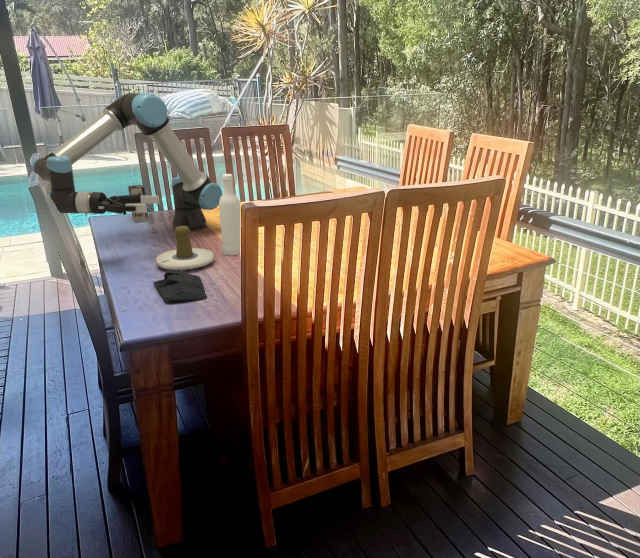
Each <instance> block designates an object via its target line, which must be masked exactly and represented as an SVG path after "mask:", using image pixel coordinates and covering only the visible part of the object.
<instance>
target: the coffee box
mask: <svg viewBox="0 0 640 558" xmlns="http://www.w3.org/2000/svg"><path fill="white" fill-rule="evenodd" d="M127 189H128V195H138V194H139V193H141V196H146V190H145V187H144V186H143V185H142V184H136V185H135V184H133V185H128V187H127ZM133 204H145V203H133ZM146 208H147V209H148V207H147V204H146ZM148 215H149V214H148V211H147V212H146V213H145V212H131V216H132V220H133V221H135V222H137V223H145V221H147V222H149V216H148ZM135 222H134V223H135Z"/></svg>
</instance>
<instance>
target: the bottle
mask: <svg viewBox="0 0 640 558" xmlns="http://www.w3.org/2000/svg"><path fill="white" fill-rule="evenodd" d="M222 185H223V189H222V190H223V193H222V196H221V197H220V200H219V205H218V209H219V219H220V220H219V222H220V223H219V224H220V234H221V235H220V237H221V250H222V254H223V255H224V256H228V255H229V256H233V255H235V256H239V255H241V254H240V211H241V202H240V199H239V197H238V195H236V194H235V191H234V176H233V174H231V173H224V174H222Z"/></svg>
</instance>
